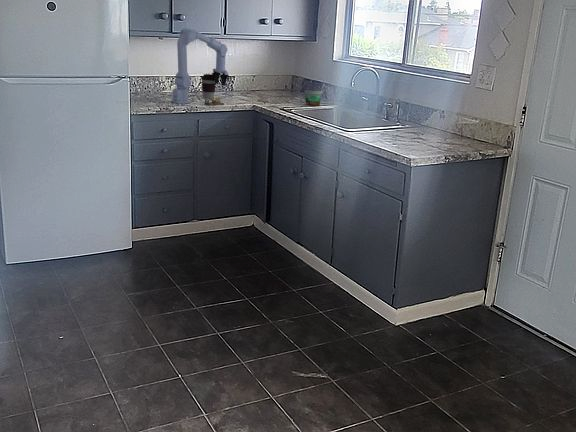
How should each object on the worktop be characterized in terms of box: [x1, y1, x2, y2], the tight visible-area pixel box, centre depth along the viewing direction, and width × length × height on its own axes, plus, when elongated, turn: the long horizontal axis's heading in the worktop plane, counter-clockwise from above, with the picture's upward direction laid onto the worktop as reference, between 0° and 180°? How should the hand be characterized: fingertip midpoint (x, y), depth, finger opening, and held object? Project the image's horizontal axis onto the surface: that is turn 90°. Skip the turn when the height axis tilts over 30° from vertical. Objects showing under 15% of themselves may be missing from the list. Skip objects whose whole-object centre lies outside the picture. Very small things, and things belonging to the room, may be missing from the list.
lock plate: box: [203, 98, 225, 107], centre depth 400 cm, size 11×6×4 cm, turn 131°
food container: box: [303, 89, 323, 107], centre depth 421 cm, size 12×6×10 cm, turn 105°
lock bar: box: [211, 97, 221, 102], centre depth 401 cm, size 6×2×2 cm, turn 131°
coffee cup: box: [200, 73, 217, 100], centre depth 421 cm, size 10×10×15 cm
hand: (219, 84), depth 414 cm, fingers open, 7 cm apart
